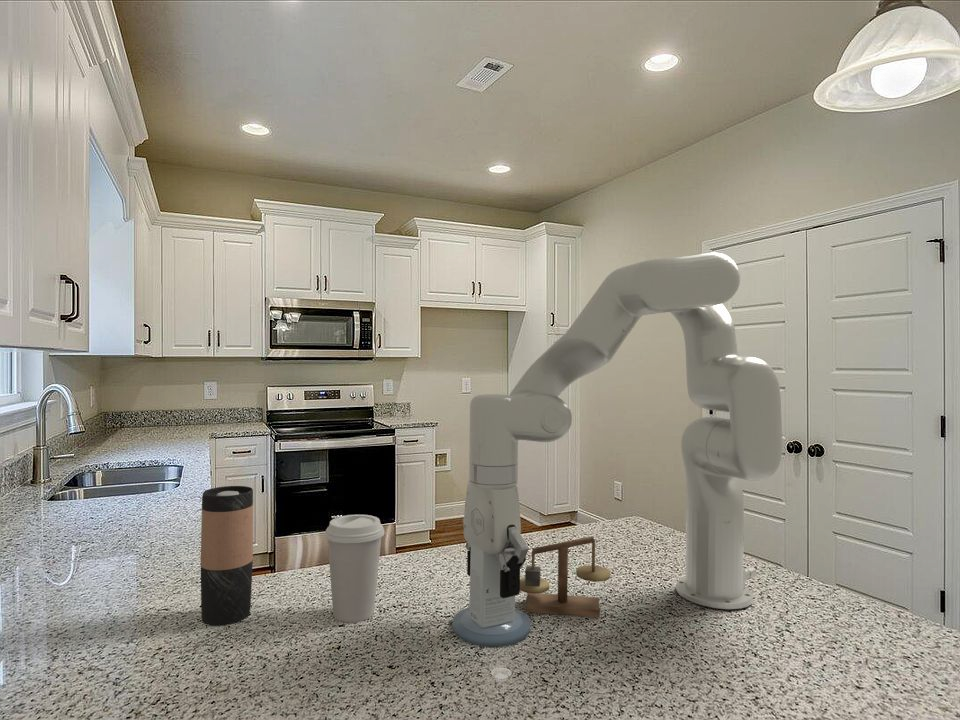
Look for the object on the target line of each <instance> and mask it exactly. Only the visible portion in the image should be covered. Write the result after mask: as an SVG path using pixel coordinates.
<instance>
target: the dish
mask: <svg viewBox="0 0 960 720" xmlns="http://www.w3.org/2000/svg"><path fill="white" fill-rule="evenodd" d="M469 612H470V606H467V607H465V608H463V609H461V610H460V611H458V612H457V613H456V614H455V615H454V616H453V619H452V631H453V633H454V635H456V637H458V638H459V639H460V640H462V641H464V642H466V643H468V644H469V643H470V644H472V645H476V646H482V647H504V646H510V645H513V644H517V643H520V642H522V641H523V640H525V639H527V637H528V636H529V634H530V633H531V620H530V618H529V616H528V615H527V614H526V613H525V612H523V611H522V610H520V609H518V608H515V619H514V620H513V621H511V622H507V623H503V624H499V625H494V626H489V627H485V628H481V627H480V626H478V625H477V624H476V623H475V622H474V621H473V620H472V619H471V618H470V617H469Z"/></svg>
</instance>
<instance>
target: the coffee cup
mask: <svg viewBox="0 0 960 720" xmlns="http://www.w3.org/2000/svg"><path fill="white" fill-rule="evenodd" d="M384 535H385V528H384V526H383V525H382V523H381V520H380V518H379V517H377V516H373V515H370V514H369V515H368V514H347V515H341V516H337V517H335V518H333V519H331V520H330V521H329V525H328V526H327V528H326V530H325V531H324V538H325V539H326V541H327V546H328V547H327V549H328V562H329V563H328V565H329V575H330V576H329V577H330V590H331V600H332V601H331V603H332V615H333V618H334V620H336V619H337V620H336V621H338V620H339V622H341V621H344V622H343V623H359V622H363V621H366V620H368V619H369V618H371V617H373V615H374V614H375V609H376V608H375V606H376V597H377V585H378V575H379V574H378V573H379V565H380V554H381V545H382V537H384ZM358 621H359V622H358Z"/></svg>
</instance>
